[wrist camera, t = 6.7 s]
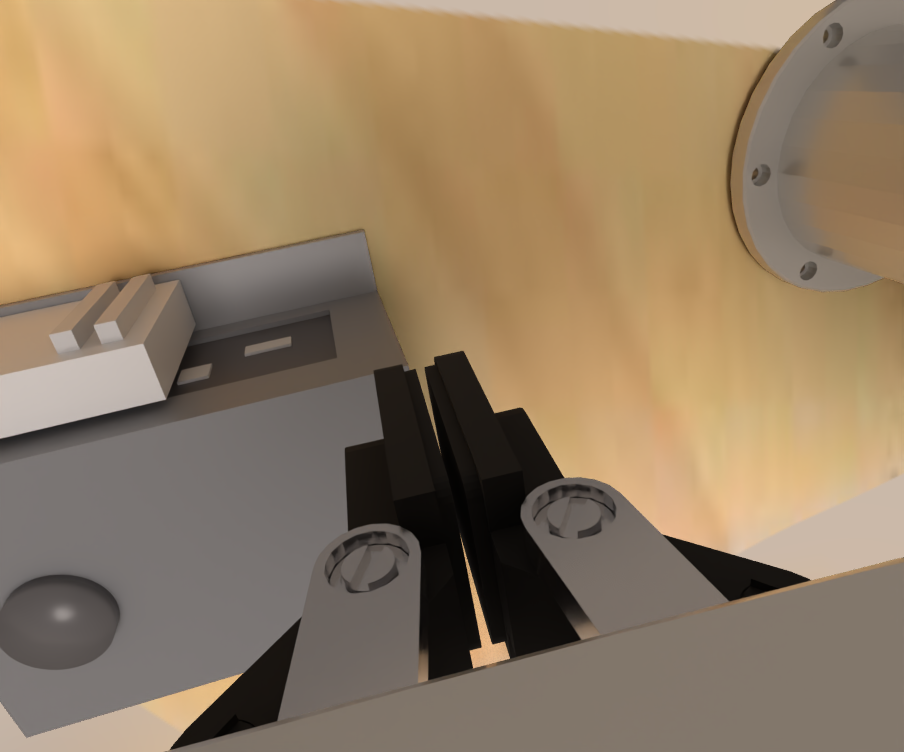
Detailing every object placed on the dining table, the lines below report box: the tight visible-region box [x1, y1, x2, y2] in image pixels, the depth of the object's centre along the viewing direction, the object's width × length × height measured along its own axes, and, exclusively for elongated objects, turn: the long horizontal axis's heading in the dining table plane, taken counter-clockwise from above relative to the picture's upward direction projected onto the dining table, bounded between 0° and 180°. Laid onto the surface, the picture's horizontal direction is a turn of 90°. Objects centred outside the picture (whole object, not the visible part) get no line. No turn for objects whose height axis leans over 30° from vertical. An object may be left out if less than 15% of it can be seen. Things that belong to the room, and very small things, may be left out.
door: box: [0, 274, 196, 439], centre depth 20 cm, size 8×2×6 cm, turn 99°
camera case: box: [0, 230, 409, 737], centre depth 23 cm, size 15×12×9 cm
